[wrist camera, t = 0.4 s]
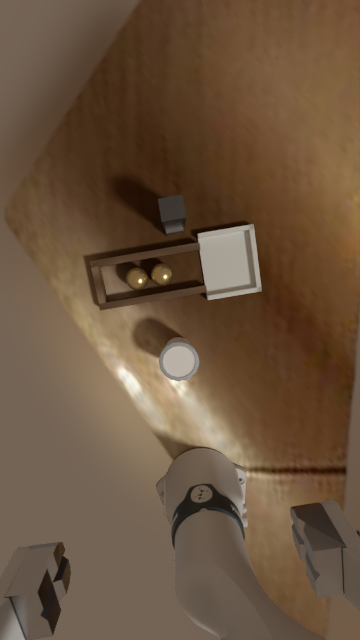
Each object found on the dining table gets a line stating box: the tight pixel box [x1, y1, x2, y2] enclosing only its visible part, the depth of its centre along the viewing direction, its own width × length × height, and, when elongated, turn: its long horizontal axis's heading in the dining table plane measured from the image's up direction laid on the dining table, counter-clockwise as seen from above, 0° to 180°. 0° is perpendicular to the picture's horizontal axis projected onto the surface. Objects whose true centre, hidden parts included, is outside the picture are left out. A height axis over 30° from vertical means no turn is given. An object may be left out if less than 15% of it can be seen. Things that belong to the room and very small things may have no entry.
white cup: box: [159, 337, 199, 381], centre depth 53 cm, size 7×7×7 cm
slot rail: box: [90, 242, 207, 310], centre depth 53 cm, size 9×20×2 cm, turn 100°
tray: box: [197, 224, 262, 300], centre depth 53 cm, size 12×10×2 cm
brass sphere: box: [126, 268, 148, 290], centre depth 52 cm, size 4×4×4 cm
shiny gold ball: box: [151, 263, 173, 286], centre depth 52 cm, size 4×4×4 cm
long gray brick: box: [158, 195, 186, 236], centre depth 47 cm, size 4×4×11 cm
